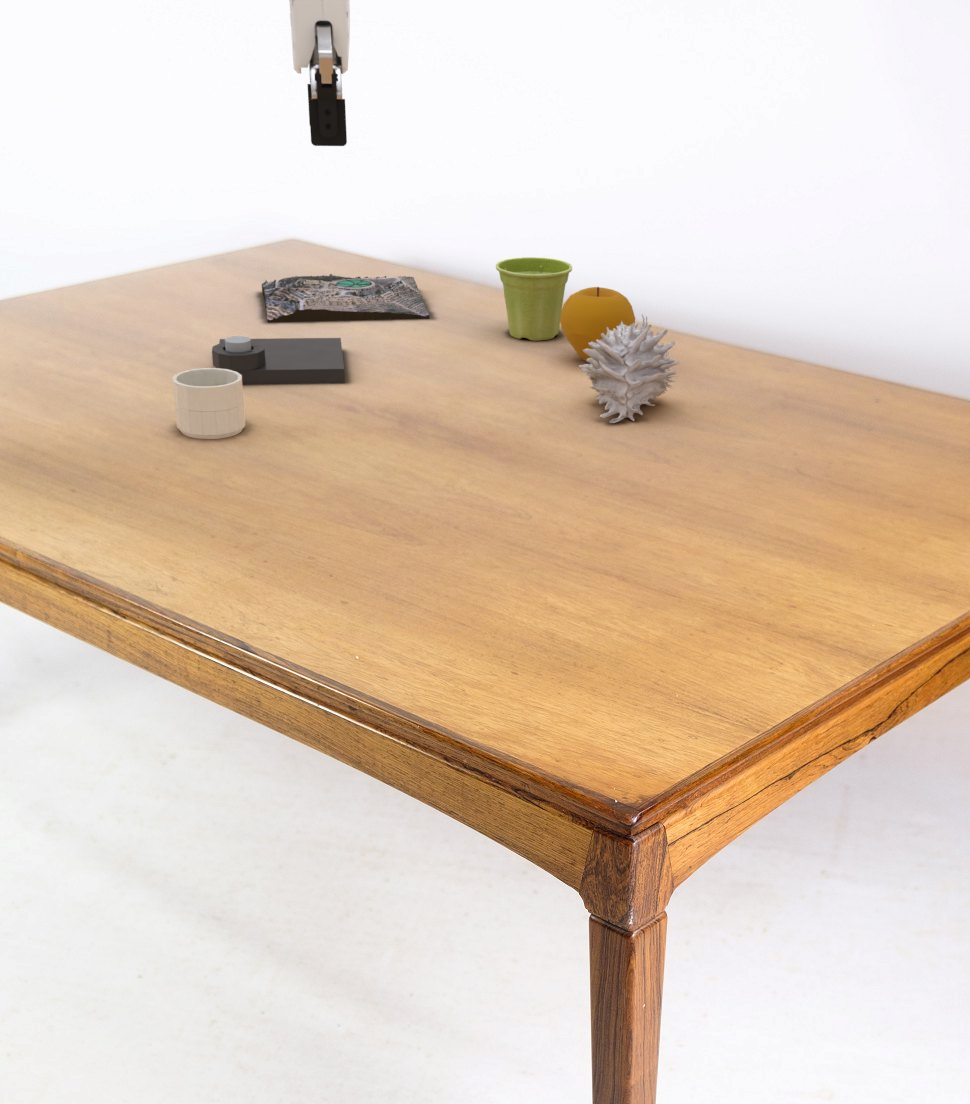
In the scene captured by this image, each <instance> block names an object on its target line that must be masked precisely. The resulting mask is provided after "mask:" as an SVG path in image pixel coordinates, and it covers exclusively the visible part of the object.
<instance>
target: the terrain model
mask: <svg viewBox="0 0 970 1104" xmlns="http://www.w3.org/2000/svg"><path fill="white" fill-rule="evenodd" d="M261 294H262V297H263V301H264V305H265V311H266V320H267V323H268V324H270V323H273V324H274V323H277V324H278V323H307V322H308V323H313V322H315V323H317V322H353V321H354V322H355V321H356V322H357V321H393V320H395V321H396V320H398V321H399V320H428V319H430V314H429V312H428V310H427V307H426V305H425V302H424V300H423V298H422V295H421V293H420V290H419V288H418V285H417V282H416V280H415V277H414V276H406V275H403V276H402V275H400V276H387V275H385V276H382V277H380V276H377V277H368V276H364V277H361V276H355V277H346V276H340V275H333V274H332V273H330V274H329V275H314V276H313V275H303V276H301V275H300V276H298V275H295V276H290V277H284V278H281V279H274V280H271V281H268V280H266V279H265V281H264V282H262V283H261Z"/></svg>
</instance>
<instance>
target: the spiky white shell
mask: <svg viewBox="0 0 970 1104" xmlns="http://www.w3.org/2000/svg"><path fill="white" fill-rule="evenodd" d="M641 316H642V324H641V326H640V327H638V326H639V322H638V321H635V326H634V323H633V324H632V325H631V326H627V325H624V324H623V322H622V320H621V324H620V325H619V326H616V327H617V330H616V329H615V328H613V331H611V330H609V328H608V327H607V334H606V335H604V333H602V334H601V336H602V338H603V340H598V339H597V340H596V342H597V343H594V342H593V341H591V343H588V344H589V346H591V347H592V348H593V349H584V350H583V352H584V353H586V354H587V355H588V356H590V357H591V358H588V359H587V360H586V361H587V362H589V363H587V362H586V361H585V362H586V363H583V364H579V365H578V368H579V369H580V370H581V371H582V372H583V373H584V374H585V376H588V377H587V379H588V380H590V381H591V384H592V385H591V386H589V388H590V389H592V390H595V392H596V393H598V394H599V395H598V396H597V397H596V398H595V400H597V401H598V404H599V405H603V404H606V405H605V406H604V410H605V411H607V412H604V413H601V414H600V415H599V418H600V419H606V418H609V417H611V416H614V415H616V414H619V415H618V417H615V418H612V419H611V420H609V422H608V423H609V424H615V423H618V422H620V421H623V420H624V419H625V418H626V419H628V418H629V419H630V420H631V421H632V422H635V417H634V414H639V415H640V416H643V415H644V413H643V411H642V410H641V406H642V405H646V406H650V407H654V406H656V404H655V403H651V401H654V400H656V398H657V397H660V396H662V395H664V394H666V392H668V389H667V388H670V389H673V386H672V385H671V384H670V383H676V382H677V381H676V380H673V379H674V378H675V377H676V375H677V369H675V370H670V368H672V367H674V366H677V365H679V364H680V363H681V362H680V361H679V360H675V359H674V358H671V357H668V356H669V354H670V353H669V352H670V351H669V350H670V349H672V348H673V347H674V346H675V345H676V341H675V340H672V341H670V342H669V343H666V344H665V343H660V344H659V342H660V341H661V340H662V339H663V338H664V337H665V335H667V333H668V329H665V330H663V331H662V332H659V331H657V332H656V335H654V331H653V330H652V329H651V328H652V325H651V324H649V322H648V316H646V317H644V314H641ZM650 329H651V330H650Z"/></svg>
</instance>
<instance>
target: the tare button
mask: <svg viewBox="0 0 970 1104" xmlns="http://www.w3.org/2000/svg"><path fill="white" fill-rule="evenodd" d="M224 339H225V348H226V351H227V352H246V351H251V339H252V338H250V337H249V336H243V335H235V336H227V337H226V338H224Z"/></svg>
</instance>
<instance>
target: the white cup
mask: <svg viewBox="0 0 970 1104" xmlns="http://www.w3.org/2000/svg"><path fill="white" fill-rule="evenodd" d="M171 380H172V389H173V400H174V401H173V402H174V410H175V411H174V412H175V421H176V422H175V423H176V428H177V429H178V430H179V431H180V433H181V434H183V435H184V436H186V437H188V438H189V437H190V438H193V439H199V440H216V439H218V440H219V439H226V438H230V437H233V436H236V435H239V434H240V433H241V432H243V430H244V428H245V427H246V410H245V395H244V385H243V381H242V375H241V374H239V373H238V372H236V371H232V370H229V369H220V368H216V367H201V368H192V369H187V370H183V371H180V372H177V373H176V374H175V375H173V376H172V379H171Z"/></svg>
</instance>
